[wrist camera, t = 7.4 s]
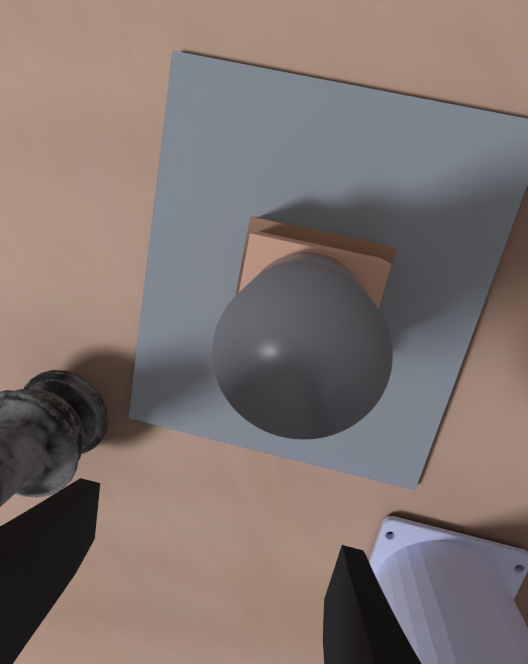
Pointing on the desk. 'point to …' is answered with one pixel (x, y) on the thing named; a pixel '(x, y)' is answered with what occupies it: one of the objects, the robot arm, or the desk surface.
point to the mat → (331, 216)
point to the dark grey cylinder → (302, 349)
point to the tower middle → (273, 247)
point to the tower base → (316, 240)
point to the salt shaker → (47, 433)
